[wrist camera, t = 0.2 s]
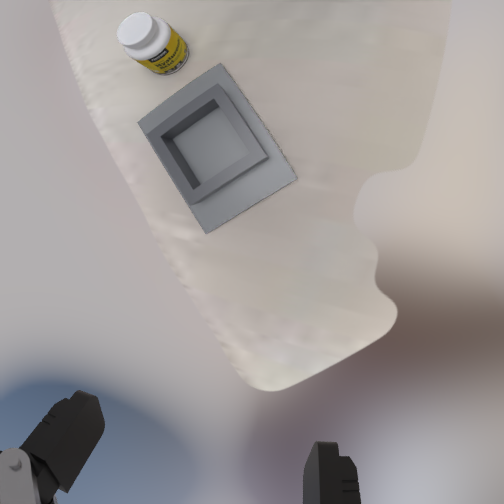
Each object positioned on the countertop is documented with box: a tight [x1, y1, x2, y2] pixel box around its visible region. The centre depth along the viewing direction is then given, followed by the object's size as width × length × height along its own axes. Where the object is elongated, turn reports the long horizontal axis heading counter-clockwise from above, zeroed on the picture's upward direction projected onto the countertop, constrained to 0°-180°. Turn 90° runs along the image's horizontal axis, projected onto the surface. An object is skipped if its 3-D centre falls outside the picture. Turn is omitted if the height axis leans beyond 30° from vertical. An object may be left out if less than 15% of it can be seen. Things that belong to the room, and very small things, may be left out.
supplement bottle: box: [117, 12, 188, 75], centre depth 28 cm, size 5×5×10 cm
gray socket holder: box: [137, 63, 297, 234], centre depth 32 cm, size 16×12×5 cm
